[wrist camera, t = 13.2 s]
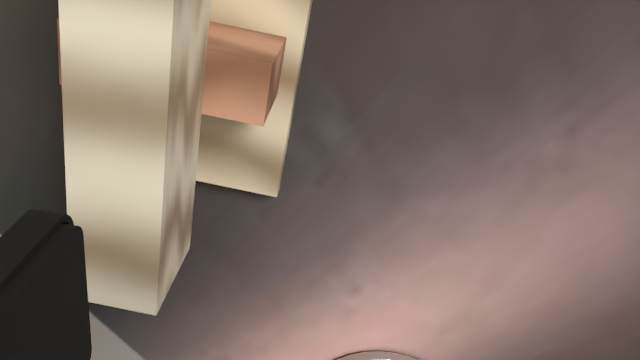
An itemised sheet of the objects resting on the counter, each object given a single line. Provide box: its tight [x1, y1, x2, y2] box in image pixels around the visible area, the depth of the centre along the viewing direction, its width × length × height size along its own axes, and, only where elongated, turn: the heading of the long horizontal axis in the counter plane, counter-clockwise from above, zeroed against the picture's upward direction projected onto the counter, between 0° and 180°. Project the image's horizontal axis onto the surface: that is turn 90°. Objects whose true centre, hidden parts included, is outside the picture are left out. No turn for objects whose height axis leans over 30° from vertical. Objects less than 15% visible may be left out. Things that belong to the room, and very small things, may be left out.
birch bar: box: [58, 0, 211, 316], centre depth 27 cm, size 22×4×6 cm, turn 170°
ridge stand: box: [57, 0, 312, 197], centre depth 33 cm, size 18×13×6 cm
